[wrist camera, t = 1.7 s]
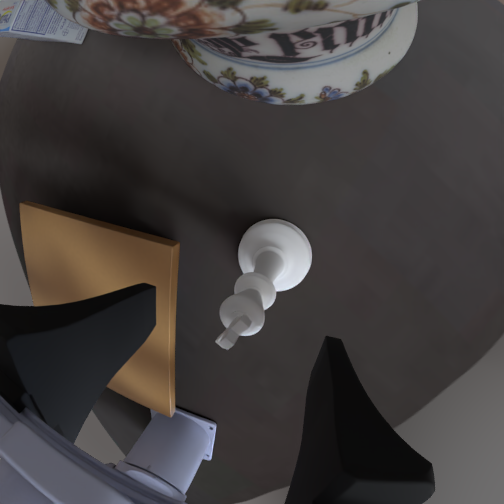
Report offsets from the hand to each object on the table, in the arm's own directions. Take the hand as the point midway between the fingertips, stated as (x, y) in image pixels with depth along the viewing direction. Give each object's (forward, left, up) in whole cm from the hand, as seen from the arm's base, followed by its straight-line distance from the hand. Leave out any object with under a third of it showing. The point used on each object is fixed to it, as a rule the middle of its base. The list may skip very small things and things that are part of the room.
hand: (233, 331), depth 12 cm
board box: (-8, +14, -9) cm, 19 cm away
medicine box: (+18, +23, -9) cm, 31 cm away
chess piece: (0, 0, -9) cm, 9 cm away
